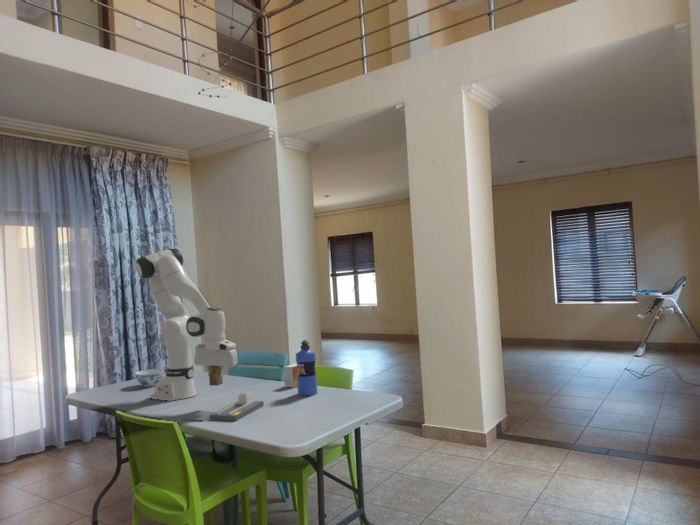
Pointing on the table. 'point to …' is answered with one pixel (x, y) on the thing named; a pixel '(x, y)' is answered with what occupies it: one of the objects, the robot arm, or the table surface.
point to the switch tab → (244, 398)
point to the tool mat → (197, 416)
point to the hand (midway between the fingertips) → (215, 376)
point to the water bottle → (306, 370)
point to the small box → (290, 375)
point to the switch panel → (236, 411)
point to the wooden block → (215, 375)
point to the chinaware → (149, 377)
